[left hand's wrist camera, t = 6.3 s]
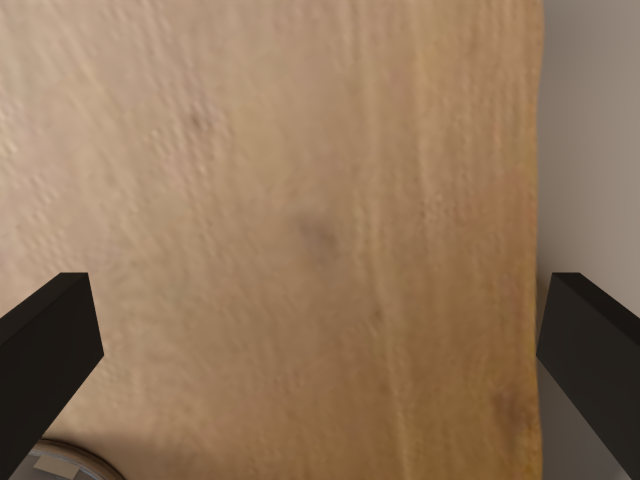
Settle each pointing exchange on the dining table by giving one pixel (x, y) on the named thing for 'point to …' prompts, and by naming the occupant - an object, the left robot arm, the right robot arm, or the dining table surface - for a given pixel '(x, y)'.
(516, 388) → the dining table surface
